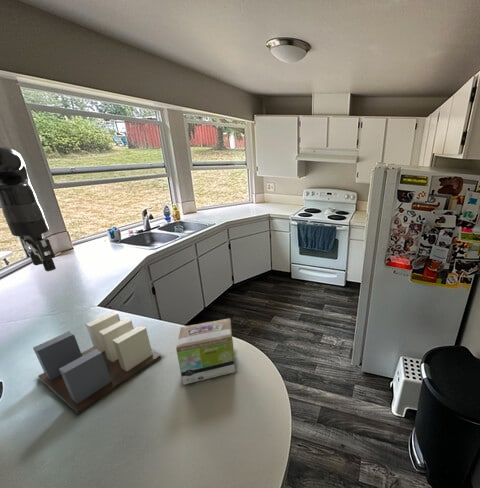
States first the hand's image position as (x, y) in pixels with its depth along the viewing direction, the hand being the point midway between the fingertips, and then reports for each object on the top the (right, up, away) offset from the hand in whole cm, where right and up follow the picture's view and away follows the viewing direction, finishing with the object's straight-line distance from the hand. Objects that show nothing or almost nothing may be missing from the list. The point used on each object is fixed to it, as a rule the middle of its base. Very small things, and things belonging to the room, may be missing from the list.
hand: (44, 267), depth 80 cm
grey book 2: (+23, -35, -8) cm, 42 cm away
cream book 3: (+28, -31, +2) cm, 42 cm away
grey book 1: (+8, -32, -2) cm, 33 cm away
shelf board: (+18, -33, +1) cm, 37 cm away
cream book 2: (+21, -30, +5) cm, 37 cm away
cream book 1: (+14, -28, +9) cm, 32 cm away
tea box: (+52, -33, +2) cm, 62 cm away
